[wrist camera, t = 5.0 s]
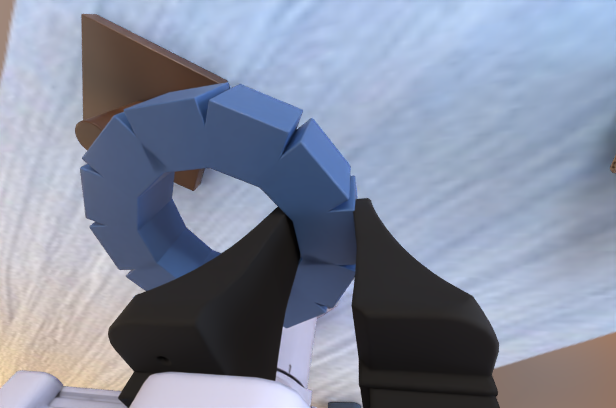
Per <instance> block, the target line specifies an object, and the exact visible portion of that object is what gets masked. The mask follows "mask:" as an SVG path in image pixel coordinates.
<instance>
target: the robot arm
mask: <svg viewBox="0 0 616 408" xmlns="http://www.w3.org/2000/svg"><path fill="white" fill-rule="evenodd" d="M353 216H354V226H355V235H356V245H357V249H356V268H355V280H354V290H353V299H352V312H353V319H354V326H355V334H356V341H357V349H358V356H359V387H360V389H361V396H362V403H363V408H500V407H499V404H498V402H497V399H496V396H497V395H498V391H497V387H496V385H495V382H494V379H493V377H492V372H493V369H494V366H495V362H496V359H497V356H498V352H499V342H498V340H497V337H496V334H495V332H494V330H493V328H492V326H491V324H490V322H489V320H488V319H487V317H486V316H485V314H484V312H483V311H482V309H481V308H480V306H479V305H478V303H477V302H476V300H475V299H474V297H473V296H471V295H470V294H468V293H466V292H464V291H462V290H461V289H459V288H457V287H455V286H453V285H452V284H450V283H448V282H446V281H445V280H443V279H442V278H440V277H439V276H437V275H436V274H434V273H433V272H431V271H430V270H429V269H427V268H426V267H425V266H423V265H422V264H421V263H420V262H418V261H417V260H416V259H415V258H414V257H413V256H411V255H410V254H409V253H408V252H407V251H406V250H405V249H404V248H403V247H402V246H401V245H400V244H399V243H398V242H397V241H396V239H395V238H394V237H393V236H392V235H391V233H390V232H389V231H388V230H387V228H386V227H385V226H384V224H383V223H382V221H381V220H380V218H379V217H378V215H377V213H376V211H375V210H374V208H373V205H372V203H371V200H370V199H369V198H364V199H356V200H355V210H354V211H353ZM300 255H301V254H300V250H299V246H298V241H297V237H296V233H295V229H294V225H293V221H292V220H291V219H290V218H289V217H288V216H287V215H286V214H285V213H284V212H283V211H282V210H281V209H280V208H279V207H277V208H276V209H275V210H274V211H273V212H271V213H270V214H269V215H268V216H267V217H266V218H265V219H264V220H263V221H262V222H261V223H260V224H258V225H257V226H256V227H255V228H254V229H253V230H252V231H250V232H249V233H248V234H247V235H246V236H244V237H243V238H242V239H241V240H240V241H238V242H237V243H236V244H234V245H233V246H232V247H230V248H229V249H227V250H226V251H225V252H223V253H222V254H220V255H219V256H217V257H215V258H214V259H212V260H210V261H209V262H207V263H205V264H203V265H202V266H200V267H198V268H197V269H195V270H193V271H191V272H189V273H187V274H185V275H183V276H181V277H179V278H177V279H174V280H172V281H170V282H168V283H166V284H163V285H161V286H158V287H156V288H153V289H151V290H148V291H146V292H143V293H141V294H138V295H136V296H135V297H134V298H133V299H132V300H131V302H130V303H129V304H128V305H127V307H126V308H125V309H124V310H123V312H122V313H121V314H120V315H119V316H118V318H117V319H116V320H115V321H114V323H113V324H112V325H111V326H110V328H109V331H108V336H109V340H110V343H111V345H112V346H113V347H114V349H115V350H116V351H117V352H118V354H119V355H120V356H121V357H122V358H123V359H124V360H125V362H126V363H127V364H128V365H129V366H130V367H131V368H132V369H133V371H134V373H133V375H132V376H131V378H130V379H129V381H128V382H127V384H126V385H125V387H124V389H123V390H122V391H113V390H102V389H90V388H79V387H68V386H63V384H62V383H61V382H60V381H59V380H58V379H57V378H56V377H54V376H53V375H51V374H48V373H45V372H37V371H24V370H20V371H17V372H16V373H15V374H14V375H13V376H12V377H11V378H10V379H9V380H8V381H7V382H6V383H5V384H4V385H3V386H2V387H1V388H0V408H317V407H314V406H311V398H312V391H311V390H309V389H307V386H308V379H309V372H310V365H311V357H312V350H313V343H314V336H315V328H316V321H317V319H318V318H319V317H321V316H322V315H324V314H322V315H320V316H317V317H315V318H312V319H310V320H307V321H305V322H302V323H300V324H297V325H295V326H292V327H290V328H285V327H283V324H284V318H285V312H286V308H287V304H288V300H289V296H290V293H291V289H292V286H293V282H294V279H295V275H296V272H297V268H298V264H299V260H300ZM336 305H337V303H336ZM336 305H335V306H334V308H335V307H336ZM334 308H330V307H327V312H329V311H330V310H332V309H334ZM327 312H326V313H327ZM326 313H325V314H326Z"/></svg>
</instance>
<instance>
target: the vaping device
mask: <svg viewBox="0 0 616 408" xmlns="http://www.w3.org/2000/svg"><path fill="white" fill-rule="evenodd" d="M328 408H361V406H360V405H359V404H357V403H345V402H334V403H328Z"/></svg>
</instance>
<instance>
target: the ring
mask: <svg viewBox="0 0 616 408" xmlns="http://www.w3.org/2000/svg"><path fill="white" fill-rule="evenodd" d="M302 112H303V110H301V109H299V108H297V107H294V106H292V105H289V104H287V103H285V102H282V101H280V100H277V99H275V98H273V97H270V96H268V95H265V94H263V93H261V92H258V91H256V90H253V89H251V88H249V87H246V86H244V85H241V84H239V85H237V86H235V87H233V88H231V89H230V87H229V83H227V82H226V83H220V84H214V85H209V86H203V87H197V88H191V89H185V90H180V91H174V92H169V93H166V94H163V95H161V96H158V97H155V98H152V99H150V100H147V101H144V102H142V103H139V104H136V105H134V106H131V107H128V108H125V109H124V112H121V113H119V114H116V115H114V116H113V117H112V118H111V120H110V121H109V122H108V124H107V125H106V126H105V128H104V129H103V130H102V132H101V133H100V134H99V136H98V137H97V138H96V140H95V141H94V143H93V144H92V145H91V147H90V148H89V149H88V151H87V152H86V153H85V155H84V156H83V157H82V159H83V160H84V161H85V162H86V163H87V164H86V165H84V166H82V167H81V168H80V173H81V181H82V190H83V198H84V207H85V216H86V218H87V219H90V220H93V221H95V223H93V224H92V225H91V226H90V229H91V230H92V232H93V233H94V235H95V236H96V237H97V239H98V240H99V242H100V243H101V245H102V246H103V247H104V249H105V250H106V252H107V253H108V255H109V256H110V257H111V259H112V260H113V262H114V263H115V265H116V266H117V268H118V269H119V270H131V271H130V272H129V273H128V274H127V275H126V277H127V278H128V279H130V280H131V281H133V282H134V283H135V284H137V285H138V286H140V287H141V288H142V289H144V290H145V291H148V290H151V289H153V288H156V287H158V286H161V285H163V284H166V283H168V282H170V281H172V280H174V279H177V278H179V277H181V276H183V275H185V274H187V273H189V272H191V271H193V270H195V269H197V268H198V267H200V266H202V265H203V264H205V263H207V262H209V261H210V260H212V259H214V258H215V257H217V256H219V255H220V254H222V253H219V252H216V251H213V250H212V249H211V248H209V247H208V246H207V245H206V244H205V243H204V242H202V241H201V240H200V239H199V238H198V237H197V236H196V235H194V234H193V233H192V232H191V231H190V230H189V229H187V228H186V226H185V224H184V222H183V220H182V218H181V216H180V214H179V212H178V210H177V207H176V205H175V203H174V201H173V199H172V193H173V183H174V174H175V172H176V171H185V170H195V169H204V168H211V169H214V170H216V171H219V172H221V173H224V174H227V175H229V176H232V177H234V178H237V179H239V180H242V181H244V182H247V183H250V184H252V185H255V186H257V187H260V188H261V189H262V190H263V191H264V192H265V193H266V194H267V195H268V196H269V198H270V199H271V200H272V201H273V202H274V203H275V204H276V205H277V206H278V207H279V208H280V209H281V210H282V211H283V212H284V213H285V214H286V215H287V216H288V217H289V218H290V219H291V220H292V221H293V225H294V229H295V233H296V237H297V241H298V246H299V250H300V254H301V255H300V260H299V264H298V268H297V272H296V275H295V279H294V282H293V286H292V289H291V293H290V296H289V300H288V304H287V308H286V312H285V318H284V324H283V327H285V328H290V327H292V326H295V325H297V324H300V323H302V322H305V321H307V320H310V319H312V318H315V317H317V316H320V315H322V314H325V313H326V312H327V307H330V308H334V306H335V305H336V303H337V302H338V300H339V299H340V297H341V296H342V295H343V293H344V292H345V290H346V289H347V287H348V286H349V284H350V283H351V282H352V280H353V279H354V277H355V268H356V249H357V245H356V235H355V226H354V216H353V211H354V210H355V200H356V199H357V191H356V181H355V176H350V170H351V167H350V165H349V163H348V162H347V161H346V160H345V158H344V157H343V156H342V155H341V153H340V152H339V151H338V149H337V148H336V147H335V146H334V144H333V143H332V142H331V141H330V139H329V138H328V137H327V136H326V134H325V133H324V132H323V130H322V129H321V128H320V127H319V125H318V124H317V123H316V122H315V120H314V119H313V118H311V119H309V120H308V121H307V122H306V123H304V124H303V125H302V126H301V127H299V128H298V129H297V127H298V124H299V121H300V118H301V115H302ZM296 129H297V130H296Z"/></svg>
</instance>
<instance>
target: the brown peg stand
mask: <svg viewBox="0 0 616 408" xmlns="http://www.w3.org/2000/svg"><path fill="white" fill-rule="evenodd" d="M81 18H82V78H83V121H80V122H79V123H78V124H77V125H76V128H75V134H76V137H77V139H78V141H79V142H80V144H81V145H82V146H83V147H84V148H85V149H86V150H88V149H89V148H90V147H91V145H92V144H93V143H94V141H95V140H96V138H97V137H98V136H99V134H100V133H101V132H102V130H103V129H104V128H105V126H106V125H107V124H108V122H109V121H110V120H111V118H112V117H113V116H114V115H116V114H119V113H121V112H124V109H125V108H128V107H131V106H134V105H136V104H139V103H142V102H144V101H147V100H150V99H152V98H155V97H158V96H161V95H163V94H166V93H169V92H174V91H180V90H185V89H191V88H197V87H203V86H209V85H214V84H220V83H226V82H227V83H228V81H227V80H225V79H223V78H221V77H219V76H217V75H215V74H213V73H211V72H209V71H207V70H205V69H203V68H201V67H199V66H197V65H195V64H193V63H191V62H190V61H188V60H186V59H184V58H182V57H180V56H178V55H176V54H174V53H172V52H170V51H168V50H166V49H164V48H162V47H160V46H158V45H156V44H154V43H152V42H150V41H148V40H146V39H144V38H142V37H140V36H138V35H136V34H134V33H132V32H130V31H128V30H126V29H124V28H122V27H120V26H118V25H116V24H114V23H112V22H110V21H108V20H106V19H105V18H103V17H101V16H99V15H97V14H82V15H81ZM203 172H204V169H195V170H185V171H176V172H175V174H174V183H177V184H179V185H181V186H183V187H186V188H188V189H190V190H192V191H194V190H195V189H196V188H197V187H198V186H199V185H200V183H201V179H202V176H203Z"/></svg>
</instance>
